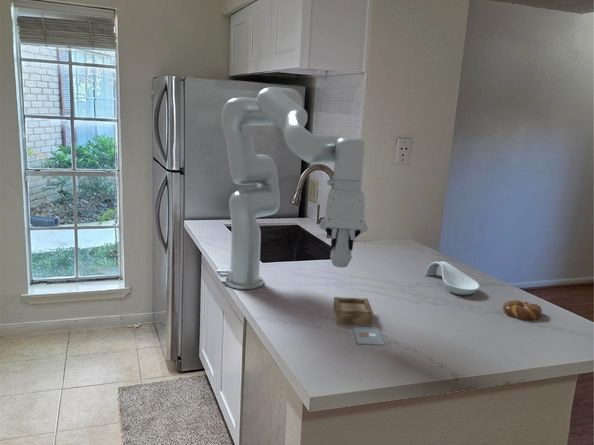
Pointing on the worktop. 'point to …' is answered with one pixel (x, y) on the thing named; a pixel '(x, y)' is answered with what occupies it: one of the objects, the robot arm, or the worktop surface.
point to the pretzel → (522, 310)
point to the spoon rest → (453, 278)
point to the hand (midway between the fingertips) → (341, 251)
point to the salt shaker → (341, 249)
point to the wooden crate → (352, 311)
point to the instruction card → (368, 335)
